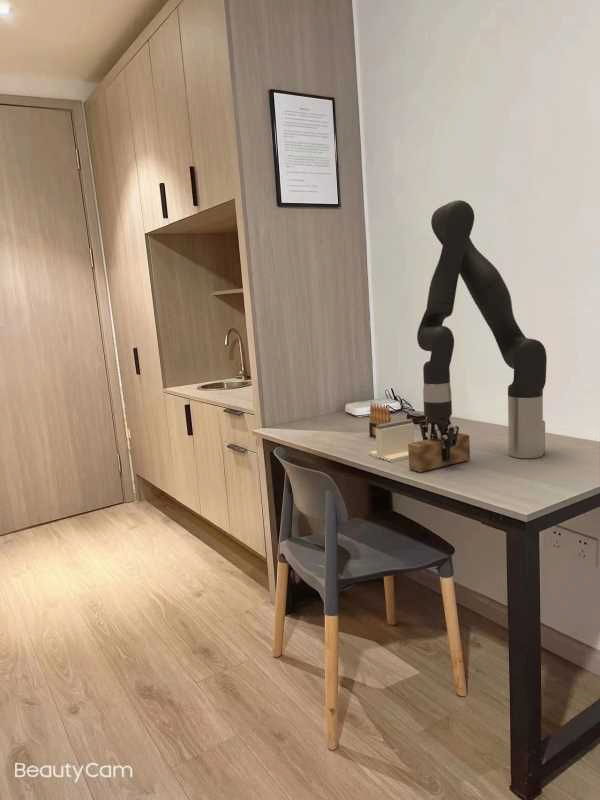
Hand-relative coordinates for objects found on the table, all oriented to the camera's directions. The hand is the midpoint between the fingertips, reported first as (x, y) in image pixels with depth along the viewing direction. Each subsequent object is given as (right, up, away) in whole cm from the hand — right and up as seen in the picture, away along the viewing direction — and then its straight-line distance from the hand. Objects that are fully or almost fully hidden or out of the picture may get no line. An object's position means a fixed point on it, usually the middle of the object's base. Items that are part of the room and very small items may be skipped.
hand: (439, 459), depth 171 cm
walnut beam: (0, -1, 0) cm, 1 cm away
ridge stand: (-10, 0, +14) cm, 17 cm away
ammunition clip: (-11, +3, +36) cm, 38 cm away
